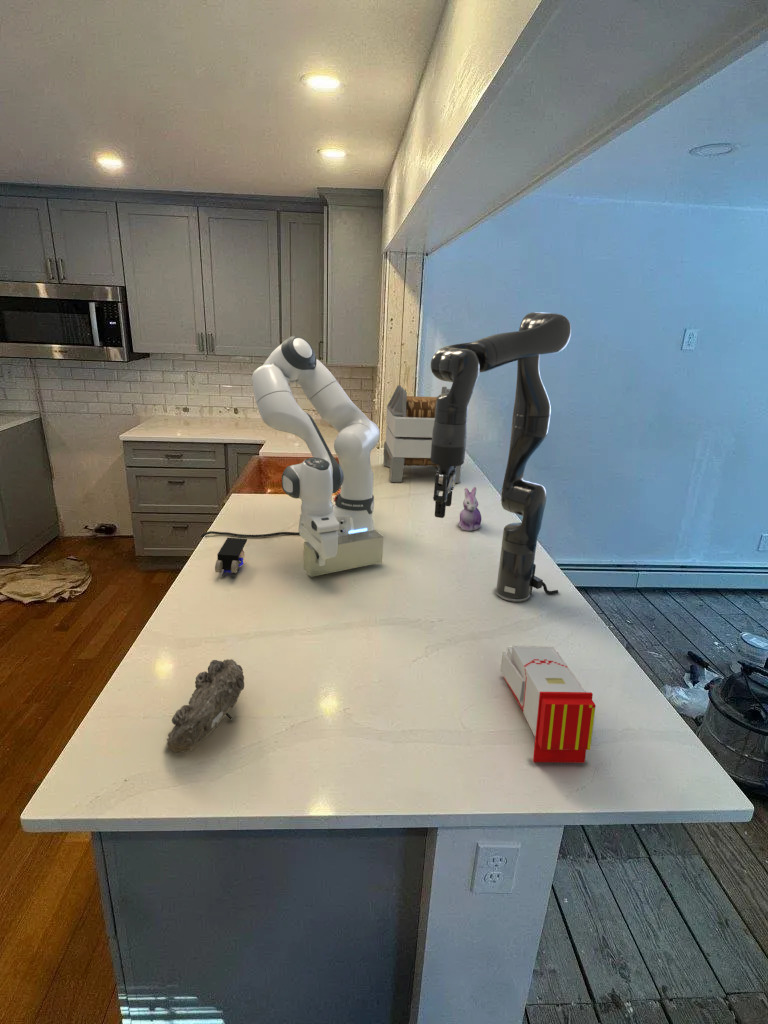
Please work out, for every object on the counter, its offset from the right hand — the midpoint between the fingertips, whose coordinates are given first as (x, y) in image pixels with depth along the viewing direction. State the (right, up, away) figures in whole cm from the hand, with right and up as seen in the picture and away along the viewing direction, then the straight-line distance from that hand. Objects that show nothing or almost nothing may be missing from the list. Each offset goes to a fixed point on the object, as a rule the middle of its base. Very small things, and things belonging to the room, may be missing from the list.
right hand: (443, 511), depth 130 cm
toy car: (-58, -17, +37) cm, 71 cm away
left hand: (-33, -14, +34) cm, 50 cm away
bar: (-26, -16, +40) cm, 50 cm away
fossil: (-46, -39, -22) cm, 65 cm away
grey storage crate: (+4, +19, +145) cm, 146 cm away
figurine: (+18, -6, +79) cm, 81 cm away
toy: (+17, -40, -17) cm, 47 cm away
